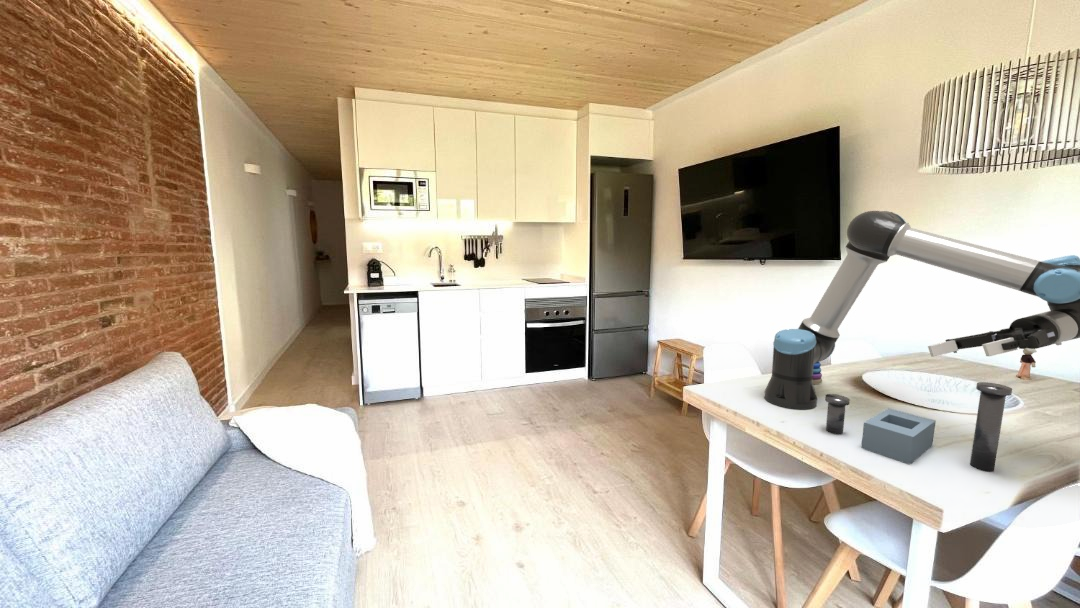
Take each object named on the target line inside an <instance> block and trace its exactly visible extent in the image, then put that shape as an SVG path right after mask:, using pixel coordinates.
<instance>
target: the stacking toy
mask: <svg viewBox="0 0 1080 608" xmlns="http://www.w3.org/2000/svg"><path fill="white" fill-rule="evenodd" d="M822 377H823V373H822V368H821V361H820V362H817V363H815V364H814V366H813V377H812V382H813V385H820V384H822V383H823V378H822Z"/></svg>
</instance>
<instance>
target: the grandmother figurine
mask: <svg viewBox="0 0 1080 608" xmlns="http://www.w3.org/2000/svg"><path fill="white" fill-rule="evenodd" d="M1034 353H1037V349H1029V348H1025V349H1022V355H1021V357H1020V361H1019V363H1021V364H1020V367H1019V369H1018V373H1017V374H1016V375H1015V377H1017V378H1020V379H1021V380H1025V381H1026V380H1030V381H1031V380H1032V379H1031V377H1030V376H1031V375H1030V374H1031V368H1036V360H1035V359H1034V357H1033V354H1034Z"/></svg>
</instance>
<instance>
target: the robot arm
mask: <svg viewBox="0 0 1080 608" xmlns="http://www.w3.org/2000/svg"><path fill="white" fill-rule="evenodd" d="M846 238H847V240H848V242H847V244H846V246H845V251H846V252H847V254H846V256H845V258H844V259H843V261H842V262H841V265H840V266H839V267H838V269H837V271H836V273H835V275H834V277H833V279H832V280H831V282H830V283H829V285H828V286H827V289H826V290H825V292H824V294H823V295H822V297H821V298H820V300H819V302H818V304H817V305H816V307H815V308H814V310H813V313H812V314H811V315H810V317H808V318H803V320H802V321H801V323H800V324H799V327H798V328H789V329H782V330H779V331H777V332H776V333H775V335H774V338H773V339H774V340H773V342H772V344H773V348H772V349H773V351H772V365H771V367H772V369H771V377H770V379H769V381H768V383H767V386H766V388H765V390H764V399H765V400H766V401H768V402H769V403H771V404H772V405H776V406H779V407H782V408H787V409H793V410H808V409H809V410H810V409H815V408H816V407H817V404H818V397H817V393H816V390H815V387H814V384H813V382H812V377H813V366H814V364H815V363H817V362H820V363H821V362H822V361H825V360H827V359H828V358H829V357H831V355H832V354H833V352H834V351H835V347H836V342H837V341H838V339H839V338H840V332H839V328H840V326H841V325H842V323H843V321H844V319H845V318H846V317H847V315H848V313H849V312H850V310H851V308H852V307H853V305H854V304H855V302H856V301H857V299H858V297H859V296H860V294H861V293H862V291H863V289H864V288H865V286H867V285H866V284H867V283H868V282H869V280H870V278H871V277H872V275H873V273H874V272H875V270H876V269H877V267H878V266H879V265H880V264H884V263H887V262H888V260H889V259H890V257H893V256H899V257H905V258H907V259H910V260H914V261H918V262H921V263H923V264H927V265H931V266H933V267H937V268H940V269H944V270H947V271H951V272H953V273H954V272H955V273H956V274H957V273H958V274H962V275H965V276H968V277H971V278H975V279H978V280H981V281H985V282H988V283H992V284H995V285H998V286H1002V287H1006V288H1009V289H1012V290H1016V291H1018V292H1021V293H1024V294H1027V295H1031V296H1034V297H1038V298H1040V299H1042V300H1043V301H1045V302H1046V303H1047V306H1048V309H1049V311H1044V312H1040V313H1037V314H1032V315H1029V316H1026V317H1021V318H1017V319H1014V320H1013V321H1012V322H1011V323H1010V325H1009V327H1008V328H1007V327H1006V328H1003V329H999V330H996V331H992V330H991V331H989V332H988V331H987V332H984V333H983V332H982V333H977V334H973V335H972V334H971V335H966V336H963V337H962V336H961V337H955V338H949V339H945V341H944V342H940V343H936V344H931V345H927V349H928V352H929V355H930V357H939V356H942V355H946V354H949V353H954V354H957V353H958V351H959V350H964V349H971V348H979V347H982V348H983V351H984V354H985V357H993V356H997V355H1001V354H1005V353H1008V352H1013V351H1018V349H1019V350H1020V349H1021V350H1024V349H1025V348H1029V349H1035V350H1037V349H1041V348H1044V347H1049V346H1051V345H1056V346H1061V345H1062V344H1063V343H1064V342H1067V341H1072V340H1075V339H1076V340H1077V339H1080V257H1079V256H1078V255H1075V254H1073V255H1072V254H1071V255H1064V256H1060V257H1055V258H1050V259H1047V260H1041V261H1040V260H1036V259H1033V258H1030V257H1025V256H1021V255H1016V254H1013V253H1010V252H1006V251H1003V250H1002V251H1001V250H998V249H994V248H991V247H987V246H983V245H978V244H974V243H971V242H969V241H968V242H967V241H963V240H960V239H956V238H951V237H948V236H944V235H940V234H936V233H933V232H929V231H926V230H925V231H924V230H921V229H918V228H913V227H911V225H910V224H909V222H906V220H905V219H904V218H903V217H902V216H900V215H899V214H897V213H895V212H893V211H888V210H881V211H880V210H869V211H868V210H867V211H865V212H861V213H859V214H858V215H856V216H854V218H853V219H852V220H851V221H850V222H849V223H848V226H847V230H846Z"/></svg>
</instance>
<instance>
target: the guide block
mask: <svg viewBox="0 0 1080 608" xmlns="http://www.w3.org/2000/svg"><path fill="white" fill-rule="evenodd" d="M936 422H937V421H936V420H935V419H932V418H928V417H924V416H919V415H917V414H912V413H908V412H904V411H901V410H897V409H892V408H889V407H888V408H887V409H884V410H883V411H881V412H879V413H878V414H876V415H875V416H873V417H870V418H869V419H868V420H865V421H864V422H863V429H862V438H861V449H863V450H865V451H866V450H867V451H870V452H872V453H874V454H877V455H881V456H883V457H886V458H890V459H893V460H895V461H899V462H902V463H904V464H907V465H911V464H912V463H913V462H915V461H916V460H917V459H919V458H920V457H921V456H922V455H924V453H926V452H927V451H928V450H929V449H931V447H933V445H934V439H935V438H934V437H935V429H936Z"/></svg>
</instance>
